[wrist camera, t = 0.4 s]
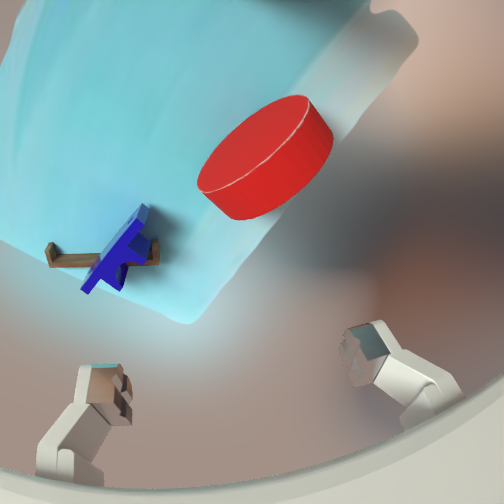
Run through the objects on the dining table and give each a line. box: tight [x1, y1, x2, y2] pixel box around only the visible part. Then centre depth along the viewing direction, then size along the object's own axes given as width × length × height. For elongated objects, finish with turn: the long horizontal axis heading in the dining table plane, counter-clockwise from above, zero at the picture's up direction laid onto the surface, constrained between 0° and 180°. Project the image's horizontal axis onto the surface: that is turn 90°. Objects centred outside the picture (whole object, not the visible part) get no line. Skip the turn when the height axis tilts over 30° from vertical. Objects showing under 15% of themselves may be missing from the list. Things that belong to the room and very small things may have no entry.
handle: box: [45, 239, 160, 268], centre depth 54 cm, size 4×24×4 cm, turn 84°
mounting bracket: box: [81, 203, 151, 294], centre depth 50 cm, size 18×7×6 cm
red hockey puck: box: [197, 95, 333, 220], centre depth 42 cm, size 20×6×20 cm, turn 130°
